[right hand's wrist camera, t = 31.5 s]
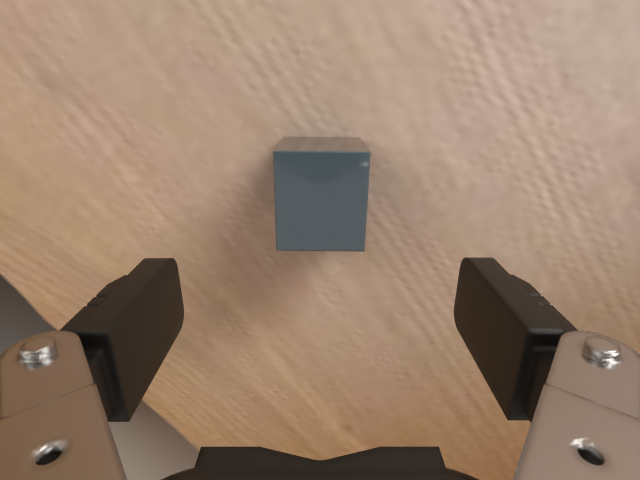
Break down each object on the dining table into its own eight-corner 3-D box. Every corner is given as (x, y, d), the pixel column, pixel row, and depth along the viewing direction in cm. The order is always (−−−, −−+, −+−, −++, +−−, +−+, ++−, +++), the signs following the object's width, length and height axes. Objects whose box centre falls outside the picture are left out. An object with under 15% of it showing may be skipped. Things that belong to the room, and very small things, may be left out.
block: (282, 136, 22) (273, 150, 18) (360, 137, 22) (370, 151, 18) (284, 219, 24) (276, 250, 20) (356, 220, 24) (364, 252, 20)
